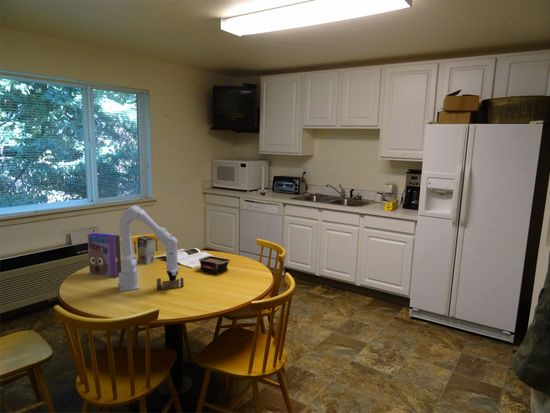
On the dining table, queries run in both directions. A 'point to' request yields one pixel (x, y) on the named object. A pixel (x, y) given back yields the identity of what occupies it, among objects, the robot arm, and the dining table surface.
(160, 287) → the gate posts
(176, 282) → the brown wooden block
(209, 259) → the dark rectangular container
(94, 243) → the cereal box
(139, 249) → the coffee box
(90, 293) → the dining table surface
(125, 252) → the robot arm
